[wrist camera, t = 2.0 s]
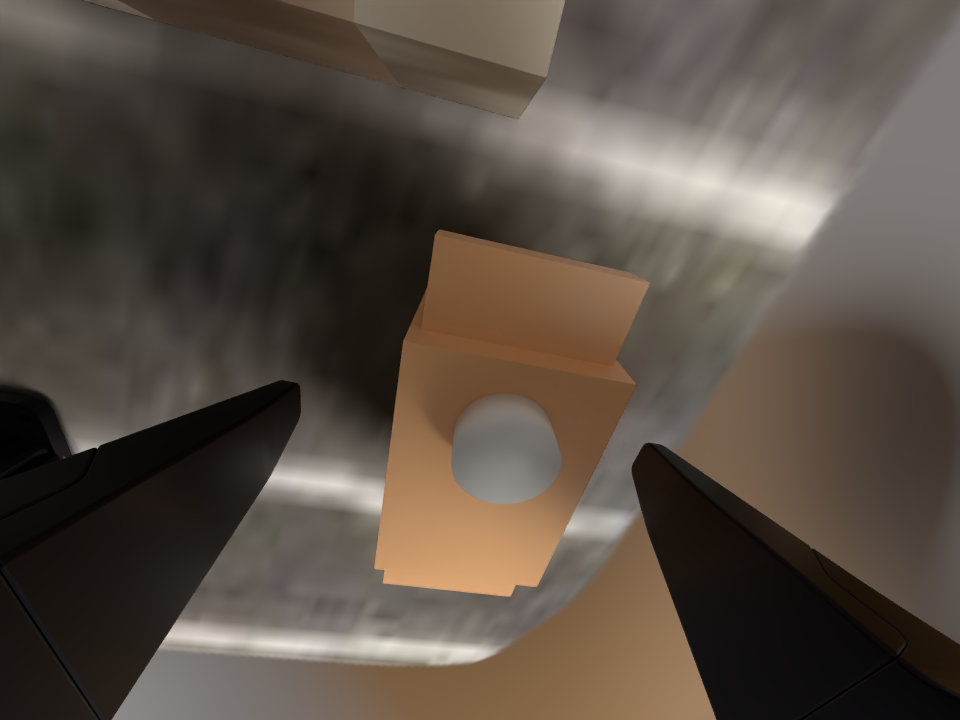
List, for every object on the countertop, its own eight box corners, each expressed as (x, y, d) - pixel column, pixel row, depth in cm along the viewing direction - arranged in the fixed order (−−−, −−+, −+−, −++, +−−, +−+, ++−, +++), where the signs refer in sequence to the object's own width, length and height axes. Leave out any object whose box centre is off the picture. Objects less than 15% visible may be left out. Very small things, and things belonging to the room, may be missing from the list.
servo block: (404, 464, 13) (360, 643, 8) (444, 211, 9) (406, 246, 4) (504, 479, 14) (523, 658, 9) (584, 244, 10) (713, 313, 4)
